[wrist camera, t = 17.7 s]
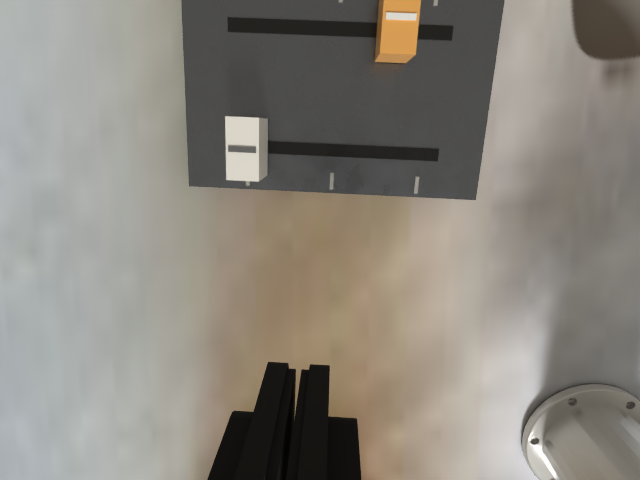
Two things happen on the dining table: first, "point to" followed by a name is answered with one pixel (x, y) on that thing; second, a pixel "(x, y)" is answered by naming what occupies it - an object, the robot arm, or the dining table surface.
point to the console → (341, 95)
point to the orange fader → (397, 30)
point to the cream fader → (246, 148)
